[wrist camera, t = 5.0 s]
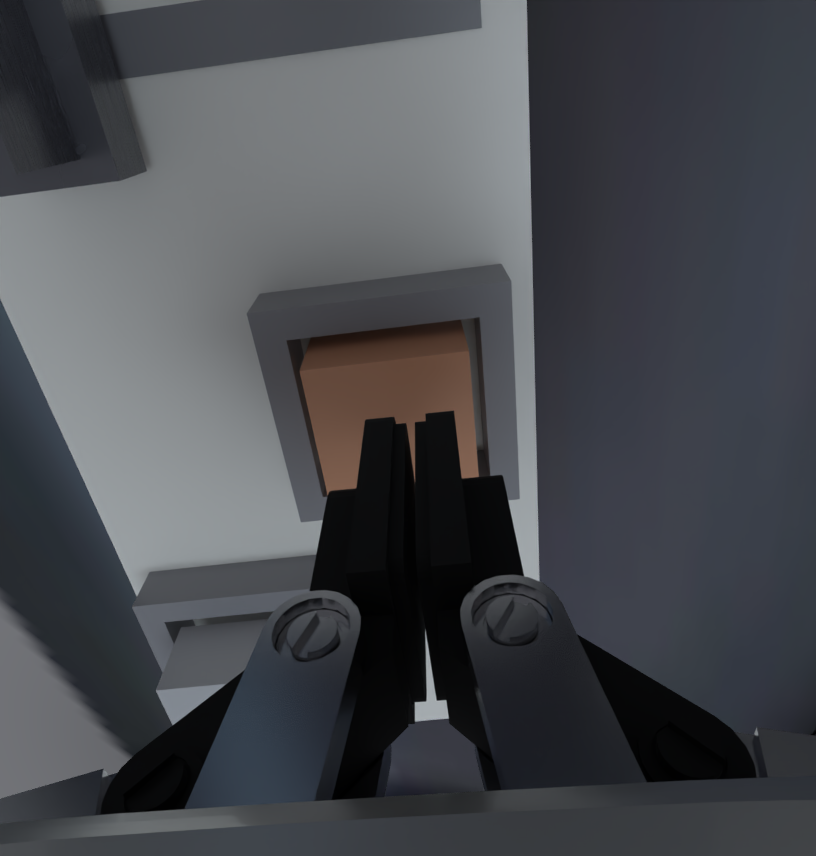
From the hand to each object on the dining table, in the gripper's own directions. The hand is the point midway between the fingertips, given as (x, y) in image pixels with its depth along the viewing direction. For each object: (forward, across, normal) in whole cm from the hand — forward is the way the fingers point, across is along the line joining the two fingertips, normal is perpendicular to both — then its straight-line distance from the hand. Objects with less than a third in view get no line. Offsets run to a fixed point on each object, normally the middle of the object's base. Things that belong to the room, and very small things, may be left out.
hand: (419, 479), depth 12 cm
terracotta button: (+6, +1, +1) cm, 6 cm away
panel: (+9, +4, +1) cm, 10 cm away
